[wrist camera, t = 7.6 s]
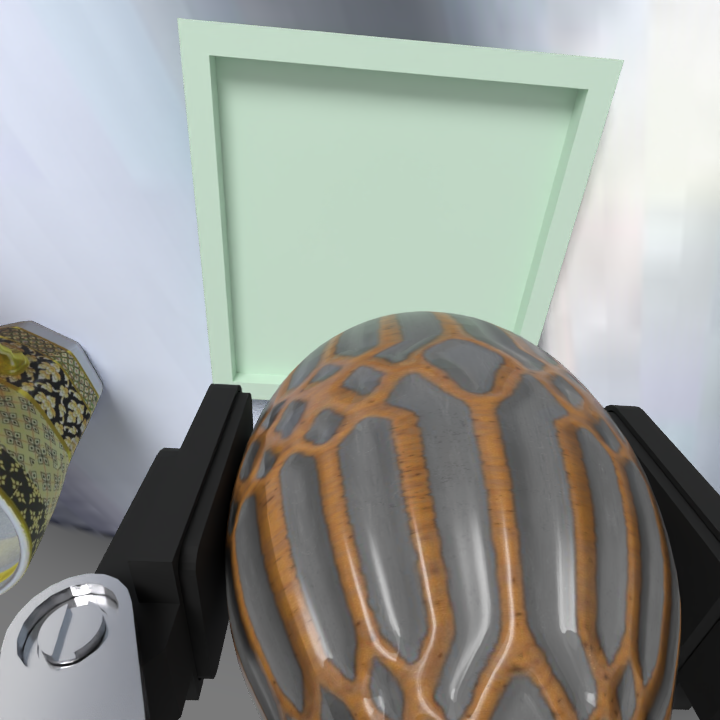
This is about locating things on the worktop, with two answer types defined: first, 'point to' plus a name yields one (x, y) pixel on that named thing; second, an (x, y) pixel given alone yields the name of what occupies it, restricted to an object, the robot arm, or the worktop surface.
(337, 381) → the vase
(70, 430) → the ceramic cup
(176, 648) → the robot arm
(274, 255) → the tray
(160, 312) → the worktop surface
